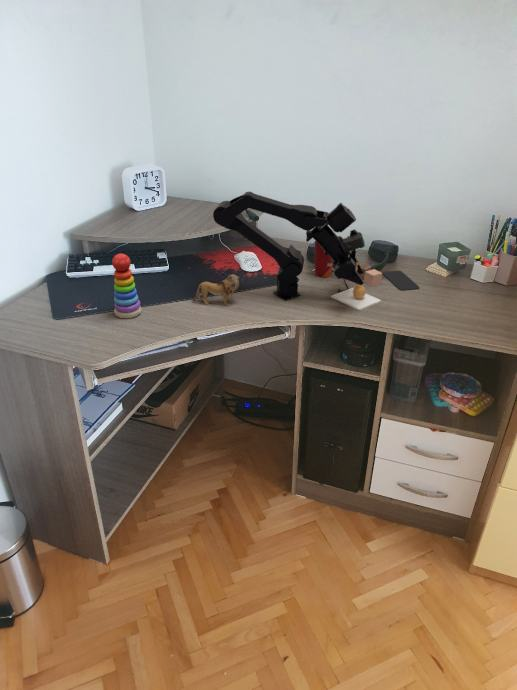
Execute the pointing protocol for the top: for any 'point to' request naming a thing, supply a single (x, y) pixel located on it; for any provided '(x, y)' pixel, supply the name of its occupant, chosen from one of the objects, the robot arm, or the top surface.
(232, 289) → the lion figurine
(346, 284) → the top surface
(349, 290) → the mat
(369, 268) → the walnut block
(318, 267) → the paper cup
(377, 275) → the terracotta block
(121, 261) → the stacking toy
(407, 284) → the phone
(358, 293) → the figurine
